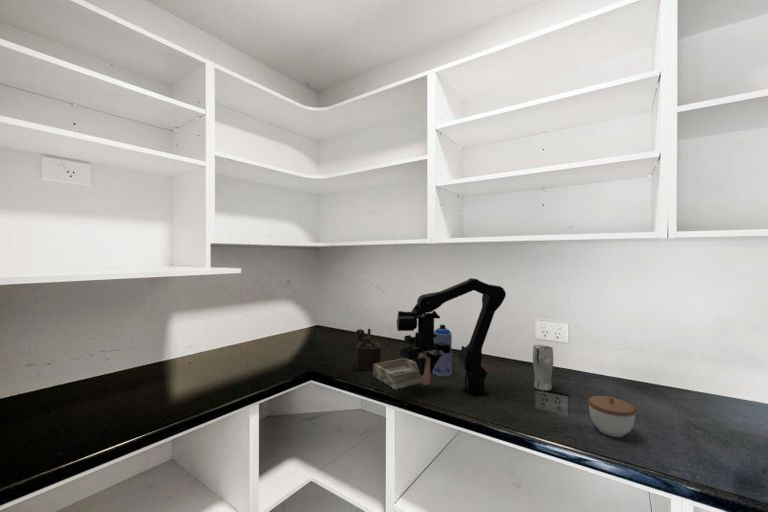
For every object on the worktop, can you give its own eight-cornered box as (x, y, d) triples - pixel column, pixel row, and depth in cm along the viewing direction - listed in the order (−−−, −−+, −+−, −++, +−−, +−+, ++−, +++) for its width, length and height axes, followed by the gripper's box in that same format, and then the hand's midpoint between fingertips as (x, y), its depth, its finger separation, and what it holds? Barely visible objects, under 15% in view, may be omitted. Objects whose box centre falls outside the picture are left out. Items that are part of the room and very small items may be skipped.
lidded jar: (608, 442, 87) (608, 406, 87) (579, 422, 97) (579, 390, 97) (645, 441, 88) (645, 405, 88) (613, 421, 98) (613, 389, 98)
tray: (429, 381, 129) (429, 368, 129) (394, 389, 121) (394, 375, 121) (405, 369, 143) (405, 358, 143) (373, 376, 134) (373, 363, 134)
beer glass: (555, 391, 120) (555, 350, 120) (535, 390, 121) (535, 349, 121) (550, 384, 127) (550, 345, 127) (530, 383, 128) (530, 344, 128)
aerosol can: (455, 373, 139) (455, 325, 139) (444, 377, 133) (444, 327, 134) (440, 368, 145) (440, 322, 145) (428, 372, 139) (429, 324, 139)
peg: (431, 383, 118) (432, 358, 118) (424, 385, 116) (425, 359, 116) (426, 381, 120) (426, 356, 120) (419, 382, 119) (419, 357, 119)
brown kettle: (355, 362, 152) (355, 323, 152) (379, 362, 153) (379, 323, 153) (354, 374, 136) (354, 330, 137) (381, 374, 137) (381, 330, 137)
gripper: (431, 324, 130) (431, 364, 130) (391, 329, 120) (391, 372, 120) (451, 329, 121) (451, 372, 120) (409, 335, 111) (409, 382, 111)
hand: (425, 374), depth 118 cm, fingers closed on peg, 3 cm apart
